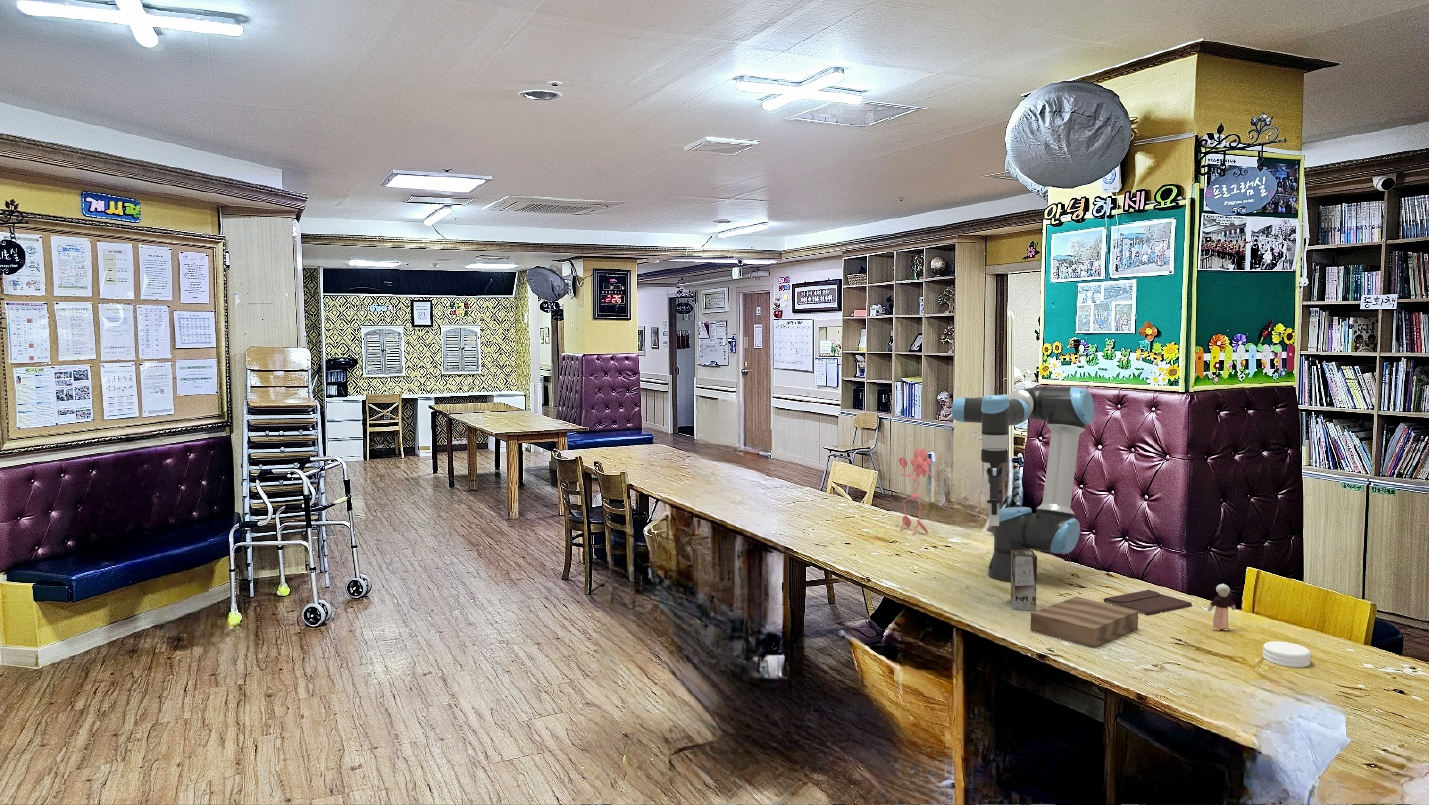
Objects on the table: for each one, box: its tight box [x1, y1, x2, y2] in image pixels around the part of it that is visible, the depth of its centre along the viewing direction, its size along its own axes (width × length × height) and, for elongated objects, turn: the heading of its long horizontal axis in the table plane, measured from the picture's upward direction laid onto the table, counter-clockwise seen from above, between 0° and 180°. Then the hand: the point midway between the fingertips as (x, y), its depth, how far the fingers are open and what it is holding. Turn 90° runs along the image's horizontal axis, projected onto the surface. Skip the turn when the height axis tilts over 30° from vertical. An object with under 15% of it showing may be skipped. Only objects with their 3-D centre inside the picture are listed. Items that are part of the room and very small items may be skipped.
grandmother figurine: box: [1207, 583, 1237, 631], centre depth 247 cm, size 8×4×13 cm, turn 105°
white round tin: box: [1262, 640, 1312, 668], centre depth 224 cm, size 10×10×4 cm
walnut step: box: [1029, 596, 1139, 649], centre depth 247 cm, size 24×18×5 cm
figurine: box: [898, 446, 938, 536], centre depth 373 cm, size 15×26×35 cm, turn 22°
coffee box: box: [1010, 549, 1038, 612], centre depth 269 cm, size 9×6×16 cm
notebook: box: [1103, 589, 1193, 617], centre depth 271 cm, size 15×20×2 cm
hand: (994, 520), depth 264 cm, fingers open, 13 cm apart
